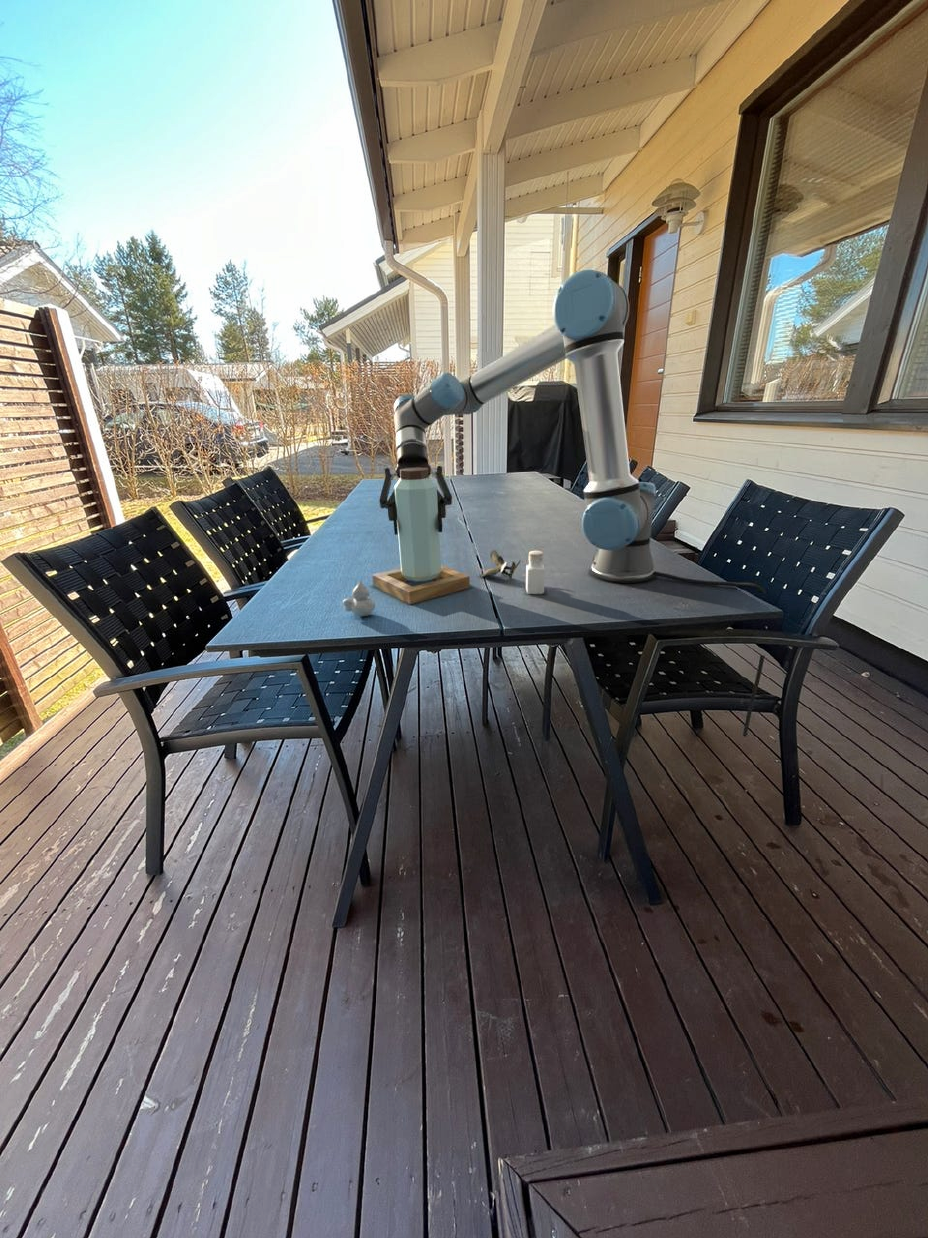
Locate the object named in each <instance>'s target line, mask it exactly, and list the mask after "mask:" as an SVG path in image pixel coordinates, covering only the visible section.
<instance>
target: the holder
mask: <svg viewBox="0 0 928 1238" xmlns="http://www.w3.org/2000/svg"><path fill="white" fill-rule="evenodd" d="M432 580H434V581H430V582H426V583H421V584H419V585H414V586H413V585H410V584H408V583H406V582H411V581H412V580H407V579H405V578H404V576H403V575H402V572H401V567H400V568H395V569H390V570H386V571H382V572H377V573H374V574H372V586H373V587H374V588H376V589H379V590H380V591H383V592H384V593H387V594H388V595H390V596H392V597H394V598H396V599H397V600H401V601H402V602H404V603H406V604H409V605H412V604H416V603H420V602H424V601H428V600H431V599H435V598H438V597H442V596H446V595H449V594H453V593H456V592H460V591H464V590H466V589H470V587H471V585H470V583H471V582H470V580H471V579H470V575H467V574H465V573H462V572H459V571H457V570H454V569H451V568H449V567H446V566H444V565H441V572H440V574H439V576H438V577H436V578H433V579H432Z"/></svg>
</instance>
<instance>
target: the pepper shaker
mask: <svg viewBox="0 0 928 1238" xmlns="http://www.w3.org/2000/svg"><path fill="white" fill-rule="evenodd" d="M543 561H544V552H543V551H541V550H530V551H529V552H528V564H527V565H526V566H525V590H526V594H528V595H543V594H544V593H545V580H546V579H545V577H546V569H545V565H544V564H543Z"/></svg>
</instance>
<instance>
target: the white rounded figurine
mask: <svg viewBox="0 0 928 1238" xmlns="http://www.w3.org/2000/svg"><path fill="white" fill-rule="evenodd" d="M370 594H371V591H370V590H369V589H368V588H367V587H366V585H365V584H363V581H362V580H359V582H358V584H357V585H356V586H355V587H354V588H353V589H352V592H351V596H352V598H344V599H343V601H342V604H343V606H344V611H345V612H352V614H354V615H355V616H357V617H367V616H369V615H371V614H372V613H373V612H374V611H375V608H376V602H375V600H373V599H372V598H371V597H370Z"/></svg>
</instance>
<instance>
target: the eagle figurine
mask: <svg viewBox="0 0 928 1238" xmlns="http://www.w3.org/2000/svg"><path fill="white" fill-rule="evenodd" d="M489 556H490V559H491V561H492V562H493V563H494V565H495V566H497V567H493V568H489V569H486V571H485V572H484V573H482V574H480V577H481V578H483V577H486V576H496V575H497V574H498V573H500V574H501V575H502V576H505V575H506V576H508V578H509V580H510V581H512V579H513V574H514V573H515V571H516V569H517V567H518V566H519V565H520V563H521V559H519V560H518V561H517V562H515V561H512V563H511V566H507V564H508V563H507V562H508V561H505V560H504V558H503V556H502V555H499V553H498V551H497V550H496V549H493V550H491V551H490V555H489ZM506 570H509V572H507V571H506Z"/></svg>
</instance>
